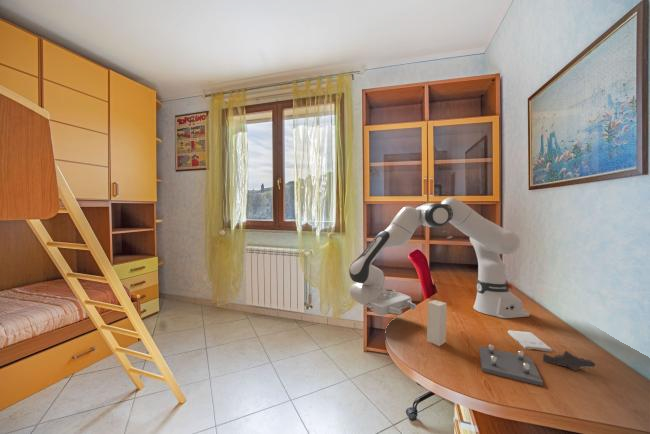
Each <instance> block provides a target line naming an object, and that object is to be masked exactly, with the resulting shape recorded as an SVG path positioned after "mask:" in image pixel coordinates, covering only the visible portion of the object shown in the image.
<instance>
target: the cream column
mask: <svg viewBox="0 0 650 434" xmlns="http://www.w3.org/2000/svg"><path fill="white" fill-rule="evenodd" d="M426 324H427V329H426V330H427V331H426V342H428V343H430V344H433V345H435V346H438V347H441V346H442V345H443V344H445V343H446V334H447V302H443V301H440V300H436V299H433V300H431V301H428V302H427V323H426Z"/></svg>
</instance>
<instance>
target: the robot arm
mask: <svg viewBox="0 0 650 434" xmlns="http://www.w3.org/2000/svg"><path fill="white" fill-rule="evenodd" d="M448 223H449V224H450V225H452V226H454V228H456V229H457V230H459V231H460V232H461V233H462V234H464V235H466V236H467V237H469V242H470V244H471V246H473V249H474V251H475V255H476V258H477V265H478V267H477V271H478V272H477V273H478V274H477V275H478V276H477V279H476V297H475V302H474V305H473V307H472V308H473V309H474V310H475V311H477V312H479V313H480V314H484V315H488V316H492V317H496V318H499V319H514V318H524V317H525V318H526V317H530V313H529V312H528V311H527V310H526V309H524V305H523V302H522V300H521V298H519V297H518V296H516V295H515V294H514V293H512V292H511V291H510V289H511V290H514V289H515V285H514V284H512V283H508V282H506V281H507V279H506V277H507V275H506V274H507V268H506V267H507V266H506V264H505V262H503V259H502V258H501V255H510V254H514V253H516V252H517V251H518V250H519V248H520V246H521V240H520V238H519V236H518V234H516V233H514V232H512V231H510V230H508V229H506V228H504V227H502V226H500V225H499V224H497V223H495V222H492V221H491V220H489V219H487V218H485V217H483V216H482V215H481V214H479V213H478V211H476V210H474V209H473V208H472V207H470V206H469V205H468V204H466V203H465V202H462V201H461V200H459V199H457V198H456V197H452V196H451V197H447V198H444V199H443V200H442V201H441V202H440V203H438V202H437V203H435V202H427V203H422V204H419V205H416V206H415V207H413V206H409V205H407V206H404V207H402V208H401V209H400V210H399V211H398V212H397V214H396V215H395V216H394V217H393V219H392V221H391V222H390V224H389V225H388V226H387V228H385V229H384V230H382V231H380V232H379V233H378V234H377V235H375V237H374V238H373V239H372V240H371V241H370V242H369V244H368V245H367V247H366V248H365V249H364V250H363V251H362V253H361V254H360V255H359V256H358V257H357V258H356V259H355V260H354V261H352V263H351V264H350V267H349V271H348V273H349V277H350V280H351V281H353V282H355V283H353V284H351V286H350V288H349V294H350V297H351V299H353V300H354V301H355V302H357V304H360V305H363V306H365V307H367V308H368V309H370V311H371V312H373V313H375V314H376V315H379V316H387V315H388V314H395V315H398V316H400V315H402V314H403V309H405V308H410V309H412V310H416V309H417V305H416V304H415V303H413V302H412V297H411V296H410V295H407V294H404V293H402V292H397V291H396V290H395V289H383V288H382V287H383V285H384V282H385V273H384V271H383V270H382V269H380V268H378V267H377V266H376V265H373V262H374V261H375V259H377V257H378V256H379V255H380V253H381V252H382V251H383V250H384V249H386V248H401V247H403V246H405V245H406V244H408V242H409V241H410V240H411V238H412V236H413V234H414V233H415V231H416V230H417V229H418V227H419V226H423V227H426V228H441V227H444V226H445V225H447V224H448Z"/></svg>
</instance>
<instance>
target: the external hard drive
mask: <svg viewBox="0 0 650 434" xmlns="http://www.w3.org/2000/svg"><path fill="white" fill-rule="evenodd" d="M507 334H509V336H510V337H511V338H513V339H514V340H515V341H516V342H517V341H518V342H519V343H520V344H521V346H522V348H523V349H525V348H527V349H526V350H531V349H536V350H535V351H540V352H541V351H542V352H549V353H550V352H553V349H552V348H551V347H550V346H548V345H547V344H546V343H545V342H544V341H543V340H541V339H540V338H539V337H537V335H535V334H534V333H532V332H531V331H522V330H521V331H520V330H511V329H509V330H507ZM518 342H517V343H518ZM519 343H518V344H519ZM520 344H519V345H520Z"/></svg>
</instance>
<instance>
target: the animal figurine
mask: <svg viewBox="0 0 650 434" xmlns="http://www.w3.org/2000/svg"><path fill="white" fill-rule="evenodd" d="M542 355H543V356H542V357H543V360H542V361H543V362H544V361H545V362H544V363H555V365H558V366H563V367H567V368H569V369H570V370H571V371H573V372H577V371H579V369H593V367H595V366H596V363H595V362H594V361H592V359H587V358H586V359H585V358H583V357H578V356H575V355H573V354H572V353H571V352H569V351H568V350H565V351H564V352H563V354H558V355H553V356H550V355H548V354H545V353H543V354H542Z"/></svg>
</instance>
